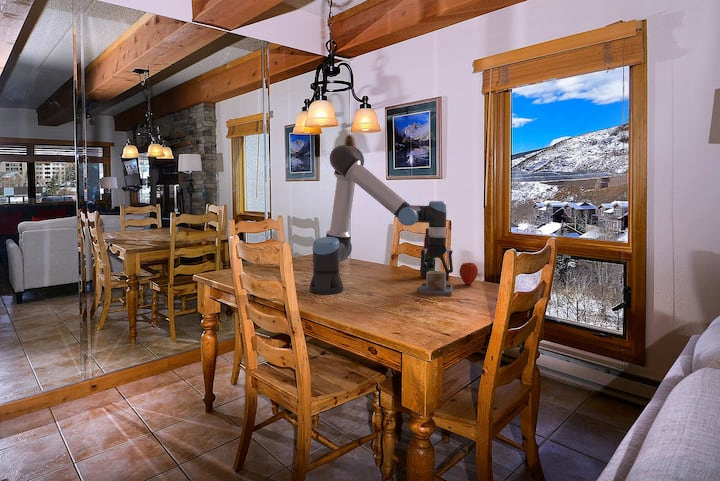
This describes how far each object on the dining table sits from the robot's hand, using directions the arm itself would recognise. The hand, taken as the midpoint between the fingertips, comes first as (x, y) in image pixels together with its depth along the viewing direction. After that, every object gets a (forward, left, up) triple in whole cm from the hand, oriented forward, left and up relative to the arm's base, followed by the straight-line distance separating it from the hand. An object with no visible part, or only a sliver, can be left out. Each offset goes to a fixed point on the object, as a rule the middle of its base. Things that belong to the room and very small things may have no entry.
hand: (436, 287), depth 206 cm
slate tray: (0, 0, -2) cm, 2 cm away
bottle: (-6, +28, -2) cm, 29 cm away
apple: (+14, +16, -2) cm, 21 cm away
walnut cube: (0, 0, 0) cm, 0 cm away
